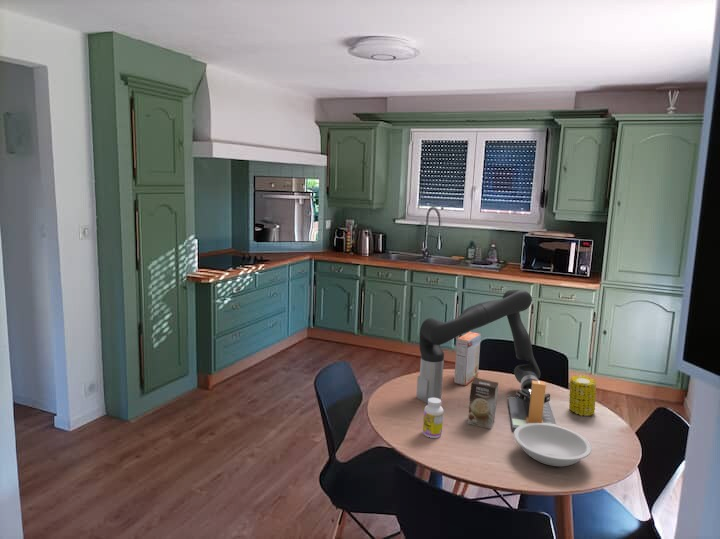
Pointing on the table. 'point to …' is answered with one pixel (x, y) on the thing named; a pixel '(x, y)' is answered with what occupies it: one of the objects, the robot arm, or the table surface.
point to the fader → (536, 402)
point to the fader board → (526, 412)
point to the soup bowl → (552, 443)
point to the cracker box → (467, 358)
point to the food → (582, 395)
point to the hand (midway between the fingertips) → (535, 404)
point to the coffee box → (482, 403)
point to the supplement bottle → (433, 418)
